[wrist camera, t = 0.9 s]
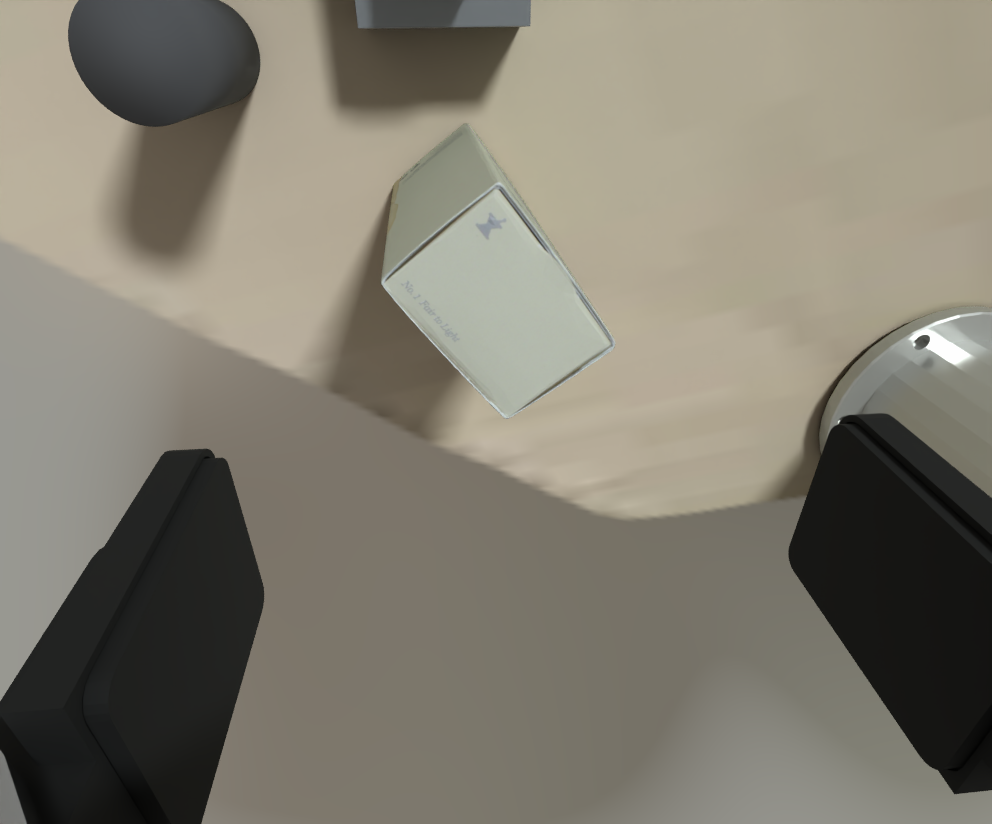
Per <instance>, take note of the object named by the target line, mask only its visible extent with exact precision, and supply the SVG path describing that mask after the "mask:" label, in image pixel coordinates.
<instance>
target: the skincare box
mask: <svg viewBox="0 0 992 824" xmlns="http://www.w3.org/2000/svg"><path fill="white" fill-rule="evenodd" d="M381 285H382V286H383V287H384V289H385V290H386V291H387V292H388V294H389V295H390V296H391V297H392V299H393V300H394V301H395V302H396V303H397V304H398V305H399V307H400V308H401V309H402V310H403V311H404V313H405V314H406V315H407V316H408V317H409V318H410V319H411V320H412V322H413V323H414V324H415V325H416V326H417V327H418V328H419V330H420V331H421V332H422V333H423V334H424V335H425V336H426V337H427V338H428V339H429V340H430V342H431V343H432V344H433V345H434V346H435V347H436V348H437V349H438V350H439V351H440V352H441V354H442V355H444V356H445V357H446V359H447V360H448V361H449V362H450V363H451V364H452V365H453V366H454V367H455V368H456V369H457V370H458V371H459V372H460V373H461V374H462V375H463V376H464V378H465V379H466V380H467V381H468V382H469V383H470V384H471V385H472V386H473V387H474V388H475V389H476V390H477V391H478V392H479V393H480V394H481V395H482V396H483V397H484V398H485V399H486V400H487V401H488V402H489V403H490V405H491V406H492V407H493V408H495V409H496V410H497V411H498V412H499V413H500V414H501V415H502V416H503V417H504V418H506V419H509V418H511V417H513V416H514V415H516V414H517V413H519V412H520V411H522V410H523V409H525V408H526V407H528V406H529V405H531V404H532V403H534V402H536V401H537V400H539V399H540V398H542V397H543V396H545V395H546V394H548V393H549V392H551V391H552V390H554V389H556V388H557V387H559V386H560V385H561V384H563V383H564V382H566V381H568V380H569V379H571V378H572V377H574V376H575V375H577V374H578V373H580V372H581V371H583V370H584V369H585V368H587V367H588V366H590V365H591V364H592V363H594V362H596V361H597V360H599V359H600V358H602V357H603V356H605V355H606V354H607V353H609V352H610V351H612V350H613V349H614V347H615V340H614V338H613V336H612V335H611V333H610V331H609V330H608V328H607V327H606V325H605V324H604V322H603V321H602V319H601V318H600V316H599V315H598V313H597V312H596V310H595V309H594V307H593V306H592V304H591V303H590V301H589V299H588V298H587V296H586V295H585V293H584V292H583V290H582V289H581V287H580V286H579V284H578V283H577V281H576V280H575V278H574V276H573V275H572V273H571V272H570V270H569V269H568V267H567V266H566V264H565V263H564V261H563V260H562V258H561V257H560V255H559V254H558V252H557V250H556V249H555V247H554V246H553V244H552V243H551V241H550V240H549V238H548V237H547V235H546V234H545V232H544V231H543V229H542V228H541V226H540V225H539V223H538V222H537V220H536V219H535V217H534V216H533V214H532V213H531V211H530V210H529V208H528V207H527V205H526V204H525V202H524V201H523V199H522V198H521V196H520V195H519V193H518V192H517V191H516V189H515V188H514V186H513V185H512V183H511V182H510V180H509V179H508V178H507V176H506V175H505V173H504V172H503V170H502V169H501V167H500V166H499V165H498V163H497V162H496V160H495V159H494V158H493V156H492V155H491V153H490V152H489V151H488V149H487V148H486V146H485V145H484V144H483V142H482V141H481V140H480V138H479V137H478V136H477V134H476V133H475V131H474V130H473V129H472V127H471V126H470V125H469V124H468V123H465V124H463V125H462V126H461V127H460V128H458V129H457V130H456V131H455V132H453V133H452V134H451V135H450V136H449V137H447V138H446V139H445V140H444V141H442V142H441V143H440V144H439V145H438V146H436V147H435V148H434V149H433V150H432V151H430V152H429V153H428V154H427V155H426V156H424V157H423V158H422V159H421V160H420V161H419V162H418V163H416V164H415V165H414V166H413V167H412V168H411V169H410V170H409V171H407V172H406V173H405V174H404V175H403V176H402V177H401V178H400V179H399V180H398V181H396V182H395V183H394V185H393V191H392V198H391V205H390V213H389V220H388V228H387V236H386V244H385V251H384V260H383V267H382V275H381Z"/></svg>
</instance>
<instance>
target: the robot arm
mask: <svg viewBox="0 0 992 824" xmlns="http://www.w3.org/2000/svg"><path fill="white" fill-rule="evenodd" d="M819 441H820V451H821V454H822V455H821V458H820V460H819V463H818V466H817V469H816V472H815V475H814V478H813V480H812V483H811V486H810V489H809V492H808V495H807V497H806V500H805V504H804V506H803V509H802V512H801V515H800V517H799V521H798V523H797V526H796V529H795V532H794V535H793V538H792V541H791V543H790V546H789V561H790V564H791V567H792V569H793V571H794V572H795V574H796V575H797V577H798V578H799V580H800V581H801V582H802V584H803V585H804V587H805V588H806V590H807V591H808V593H809V594H810V595H811V597H812V599H813V600H814V601H815V603H816V604H817V606H818V607H819V609H820V610H821V612H822V613H823V615H824V616H825V618H826V619H827V621H828V622H829V624H830V625H831V626H832V628H833V629H834V631H835V632H836V634H837V635H838V637H839V638H840V640H841V641H842V643H843V644H844V646H845V647H846V648H847V650H848V651H849V653H850V654H851V656H852V657H853V659H854V660H855V662H856V663H857V665H858V666H859V668H860V669H861V670H862V672H863V673H864V675H865V676H866V678H867V679H868V681H869V682H870V684H871V685H872V687H873V688H874V689H875V691H876V692H877V694H878V695H879V697H880V698H881V700H882V701H883V703H884V704H885V705H886V707H887V709H888V710H889V711H890V713H891V714H892V716H893V717H894V719H895V720H896V722H897V723H898V725H899V726H900V728H901V729H902V730H903V732H904V733H905V735H906V736H907V738H908V739H909V741H910V742H911V744H912V745H913V747H914V748H915V750H916V751H917V753H918V754H919V755H920V757H921V758H922V759H923V760H924V761H925V763H927V764H928V765H929V766H930V767H932V768H934V769H936V770H938V771H939V772H940V774H941V775H942V777H943V778H944V779H945V781H946V782H947V784H948V785H949V787H950V788H951V790H952V791H953V793H954V794H959V793H968V792H978V791H988V790H992V308H990V307H984V306H969V307H957V308H952V309H948V310H943V311H939V312H935V313H932V314H930V315H927V316H925V317H922V318H919V319H917V320H914V321H912V322H910V323H909V324H907V325H905V326H903V327H901V328H899V329H898V330H896V331H894V332H892V333H891V334H889V335H888V336H886V337H885V338H884V339H882V340H881V341H880V342H878V343H877V344H875V345H874V346H873V347H871V348H870V349H869V350H868V351H867V352H866V353H865V354H864V355H863V356H862V357H861V358H860V359H859V360H858V361H856V362H855V363H854V364H853V366H852V367H851V368H850V369H849V371H848V372H847V373H846V374H845V375H844V377H843V378H842V379H841V380H840V382H839V383H838V385H837V387H836V388H835V390H834V392H833V393H832V395H831V397H830V399H829V400H828V403H827V406H826V408H825V411H824V414H823V416H822V420H821V426H820V432H819ZM263 603H264V587H263V583H262V579H261V576H260V572H259V569H258V565H257V562H256V559H255V555H254V552H253V548H252V545H251V541H250V538H249V534H248V531H247V527H246V524H245V521H244V517H243V514H242V510H241V507H240V503H239V500H238V496H237V493H236V490H235V486H234V483H233V479H232V475H231V472H230V469H229V466H228V463H227V461H226V460H225V459H224V458H215V456H214V454H213V453H212V451H211V450H209V449H194V450H193V449H192V450H173V451H167V452H165V453H164V454H163V455H162V456H161V457H160V459H159V461H158V462H157V464H156V465H155V467H154V469H153V470H152V472H151V473H150V475H149V476H148V478H147V480H146V481H145V483H144V484H143V486H142V488H141V489H140V491H139V492H138V494H137V495H136V497H135V499H134V500H133V502H132V503H131V505H130V507H129V508H128V510H127V511H126V513H125V515H124V516H123V518H122V519H121V521H120V522H119V524H118V526H117V527H116V529H115V530H114V532H113V534H112V535H111V537H110V539H109V540H108V542H107V543H106V545H105V546H104V547H103V548H102V549H100V550H99V551H98V552H97V553H96V554H95V555H94V557H93V558H92V559H91V560H90V562H89V564H88V565H87V567H86V568H85V570H84V571H83V573H82V574H81V576H80V578H79V579H78V581H77V582H76V584H75V585H74V587H73V589H72V590H71V592H70V593H69V595H68V596H67V598H66V599H65V601H64V603H63V604H62V606H61V607H60V609H59V610H58V612H57V614H56V615H55V617H54V618H53V620H52V621H51V623H50V625H49V626H48V628H47V629H46V631H45V632H44V634H43V635H42V637H41V639H40V640H39V642H38V643H37V645H36V647H35V648H34V650H33V651H32V653H31V654H30V656H29V657H28V659H27V660H26V662H25V664H24V665H23V667H22V668H21V670H20V671H19V673H18V675H17V676H16V678H15V679H14V681H13V682H12V684H11V685H10V687H9V689H8V690H7V692H6V693H5V695H4V696H3V698H2V700H1V701H0V824H201V822H202V818H203V815H204V812H205V808H206V805H207V801H208V798H209V794H210V791H211V787H212V784H213V780H214V777H215V773H216V770H217V766H218V763H219V759H220V755H221V753H222V749H223V746H224V742H225V738H226V735H227V732H228V728H229V724H230V721H231V718H232V714H233V711H234V707H235V703H236V700H237V696H238V693H239V689H240V686H241V683H242V679H243V676H244V672H245V669H246V665H247V662H248V658H249V655H250V651H251V648H252V644H253V641H254V637H255V634H256V630H257V627H258V623H259V620H260V616H261V613H262V609H263Z"/></svg>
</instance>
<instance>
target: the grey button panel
mask: <svg viewBox="0 0 992 824" xmlns="http://www.w3.org/2000/svg"><path fill="white" fill-rule="evenodd" d="M355 6H356V15H357V24H358V28H361V29H408V28H486V27H525V26H530V9H531V0H355Z"/></svg>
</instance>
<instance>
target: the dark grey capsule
mask: <svg viewBox="0 0 992 824" xmlns="http://www.w3.org/2000/svg"><path fill="white" fill-rule="evenodd" d="M68 41H69V47H70V52H71V56H72V60H73V62H74V65H75V67H76V70H77V72H78V73H79V75H80V77H81V79H82V81H83V82H84V84H85V85H86V87H87V88H88V89H89V91H90V92H91V93H92V94H93V95H94V97H95V98H96V99H97V100H98V101H99V102H100V103H101V104H103V105H104V106H105V107H106V108H107V109H109V110H110V111H112V112H113V113H114V114H116V115H118V116H120V117H121V118H123V119H125V120H128V121H130V122H132V123H136V124H139V125H144V126H153V127H158V126H166V125H170V124H173V123H176V122H179V121H182V120H185V119H188V118H191V117H194V116H197V115H200V114H203V113H205V112H208V111H211V110H214V109H217V108H220V107H223V106H226V105H229V104H232V103H235V102H237V101H239V100H241V99H243V98H244V97H246V96H247V95H248V94H249V93H250V92H251V90H252V89H253V87H254V86H255V84H256V82H257V79H258V76H259V72H260V54H259V49H258V45H257V42H256V39H255V37H254V35H253V33H252V31H251V29H250V27H249V26H248V24H247V23H246V22H245V20H244V19H243V18H242V17H241V16H240V15H239V14H238V13H237V12H236V11H235V10H234V9H233V8H231V7H230V6H228V5H227V4H225V3H223V2H221V1H219V0H79V1H78V2H77V4H76V5H75V7H74V9H73V11H72V14H71V17H70V21H69V29H68Z"/></svg>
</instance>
